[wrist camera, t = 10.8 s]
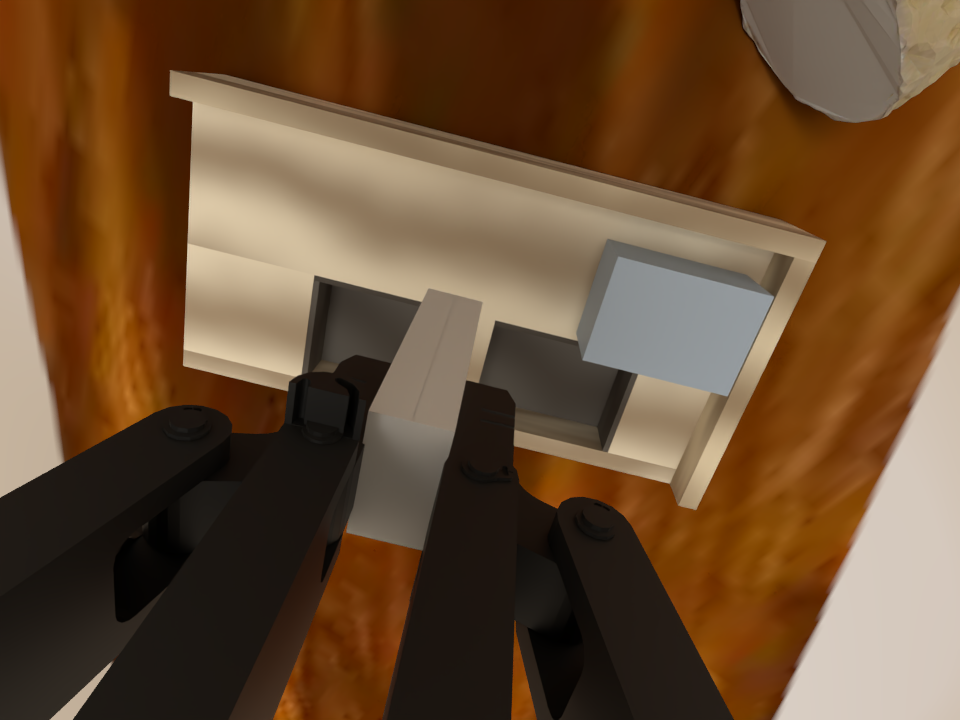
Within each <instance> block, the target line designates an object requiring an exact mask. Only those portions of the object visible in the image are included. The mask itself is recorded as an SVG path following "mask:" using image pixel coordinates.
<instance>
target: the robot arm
mask: <svg viewBox="0 0 960 720" xmlns="http://www.w3.org/2000/svg"><path fill="white" fill-rule="evenodd" d="M482 304H483V302H481V301H477V300H473V299H469V298H465V297H461V296H457V295H453V294H449V293H445V292H441V291H438V290H434V289H430V288H428V290H427V292H426V295H425V297H424V299H423V301H422V303H421V305H420V307H419V309H418V311H417V313H416V315H415V317H414V319H413V321H412V323H411V325H410V327H409V329H408V331H407V333H406V335H405V337H404V339H403V341H402V343H401V345H400V348H399V350H398V352H397V354H396V356H395V358H394V360H393V362H392V363H389V362H385V361H381V360H377V359H373V358H369V357H365V356H360V355H354V356H352V357H350V358H348V359H346V360H344V361H341V362H340V363H339V365H338V366H337V368H336V369H335V371H334V372H333V373H331V372H309V373H305V374H302V375H298V376H296V377H295V378H293V379H292V380H291V381H289V386H288V395H287V404H286V413H285V422H284V424H283V426H282V427H281V428H280V430H279V431H278V432H274V433H268V434H243V433H232V423H231V422H230V420H229V419H228V417H227V416H226V415H224V414H223V413H221V412H219V411H218V410H216V409H212V408H208V407H204V406H197V405H182V406H175V407H168V408H166V409H163V410H161V411H158V412H155V413H153V414H151V415H150V416H148V417H146V418H144V419H142V420H140V421H139V422H137V423H135V424H133V425H131V426H130V427H128V428H126V429H124V430H122V431H120V432H119V433H117V434H115V435H113V436H111V437H110V438H108V439H106V440H104V441H102V442H100V443H99V444H97V445H95V446H93V447H91V448H90V449H88V450H86V451H84V452H82V453H80V454H79V455H77V456H75V457H73V458H71V459H70V460H68V461H66V462H64V463H62V464H61V465H59V466H57V467H55V468H53V469H51V470H50V471H48V472H46V473H44V474H42V475H41V476H39V477H37V478H35V479H33V480H31V481H30V482H28V483H26V484H24V485H22V486H21V487H19V488H17V489H15V490H13V491H11V492H10V493H8V494H6V495H4V496H2V497H1V498H0V720H50V719H51V718H52V717H53V716H54V715H55V714H56V713H57V712H58V711H59V710H60V709H61V708H62V707H63V706H65V705H66V704H67V703H68V702H69V701H70V700H71V699H72V698H73V697H74V696H75V695H76V694H77V693H78V692H79V691H80V690H81V689H83V688H84V687H85V686H86V685H87V684H88V683H89V682H90V681H91V680H92V679H93V678H94V677H95V676H96V675H97V674H98V673H100V672H101V671H102V670H103V669H104V668H105V667H106V666H107V665H108V664H109V663H110V662H111V661H112V660H113V659H114V658H115V657H117V656H118V655H119V656H118V657H117V658H116V660H115V661H114V663H113V664H112V665H111V667H110V668H109V670H108V671H107V673H106V674H105V675H104V677H103V678H102V680H101V681H100V682H99V684H98V685H97V687H96V688H95V689H94V691H93V692H92V694H91V695H90V696H89V698H88V699H87V701H86V702H85V703H84V705H83V706H82V708H81V709H80V710H79V712H78V713H77V715H76V716H75V717H74V719H73V720H273V717H274V715H275V712H276V710H277V707H278V705H279V702H280V700H281V697H282V695H283V692H284V690H285V687H286V685H287V682H288V680H289V677H290V675H291V672H292V670H293V667H294V665H295V662H296V660H297V657H298V655H299V652H300V650H301V647H302V645H303V642H304V640H305V637H306V635H307V632H308V630H309V627H310V625H311V622H312V620H313V617H314V615H315V612H316V610H317V607H318V605H319V602H320V600H321V597H322V595H323V592H324V590H325V587H326V585H327V582H328V580H329V577H330V575H331V572H332V570H333V567H334V565H335V562H336V560H337V557H338V555H339V551H340V546H341V540H342V535H343V531H344V528H345V526H346V524H347V521H348V519H349V521H348V526H347V533H351V534H355V535H359V536H364V537H368V538H372V539H376V540H380V541H385V542H389V543H393V544H397V545H401V546H405V547H410V548H414V549H418V550H422V554H421V558H420V562H419V566H418V570H417V574H416V577H415V581H414V585H413V589H412V593H411V597H410V604H409V608H408V612H407V616H406V621H405V625H404V629H403V633H402V638H401V642H400V646H399V650H398V655H397V659H396V663H395V668H394V672H393V676H392V680H391V685H390V689H389V693H388V697H387V702H386V706H385V710H384V714H383V719H382V720H511V707H512V677H513V647H514V620H515V621H516V633H517V637H518V642H519V646H520V650H521V654H522V658H523V662H524V667H525V671H526V675H527V679H528V683H529V688H530V692H531V696H532V700H533V704H534V708H535V713H536V717H537V720H734V719H733V717H732V715H731V713H730V712H729V710H728V708H727V706H726V704H725V702H724V700H723V698H722V696H721V695H720V693H719V691H718V689H717V687H716V685H715V683H714V681H713V679H712V678H711V676H710V674H709V672H708V670H707V668H706V666H705V664H704V662H703V660H702V659H701V657H700V655H699V653H698V651H697V649H696V647H695V645H694V643H693V642H692V640H691V638H690V636H689V634H688V632H687V630H686V628H685V626H684V625H683V623H682V621H681V619H680V617H679V615H678V613H677V611H676V609H675V607H674V606H673V604H672V602H671V600H670V598H669V596H668V594H667V592H666V590H665V589H664V587H663V585H662V583H661V581H660V579H659V577H658V575H657V573H656V572H655V570H654V568H653V566H652V564H651V562H650V560H649V558H648V556H647V554H646V553H645V551H644V549H643V547H642V545H641V543H640V541H639V539H638V537H637V536H636V534H635V532H634V530H633V528H632V526H631V525H630V524H629V522H628V521H627V520H626V518H625V517H624V516H623V515H622V514H621V513H619V512H618V511H617V510H615V509H614V508H613V507H611V506H609V505H607V504H605V503H603V502H601V501H599V500H595V499H591V498H586V497H574V498H569V499H567V500H565V501H563V502H561V504H560V506H559V508H558V509H557V508H555V507H552V506H550V505H548V504H546V503H544V502H542V501H540V500H539V499H537V498H535V497H533V496H532V495H531V494H529V493H528V492H527V491H526V490H524V489H523V488H522V486H521V485H520V484H519V478H518V474H517V470H516V469H515V468H514V467H513V452H514V430H515V429H514V427H515V408H516V403H515V402H514V400H513V399H512V397H511V395H510V394H509V392H508V391H507V390H504V389H500V388H496V387H492V386H488V385H484V384H480V383H476V382H472V381H468V380H466V378H467V374H468V369H469V364H470V360H471V355H472V350H473V346H474V341H475V336H476V332H477V327H478V322H479V318H480V313H481V308H482Z"/></svg>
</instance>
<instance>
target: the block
mask: <svg viewBox="0 0 960 720" xmlns="http://www.w3.org/2000/svg"><path fill="white" fill-rule="evenodd" d="M773 299H774V296H773V295H771V294H770V293H769V292H768V291H766V290H765V289H764V288H763V287H761V286H760V285H759V284H758V283H756V282H755V281H754V280H752V279H751V278H750V277H749V276H747V275H746V274H742V273H738V272H734V271H730V270H726V269H722V268H718V267H715V266H711V265H707V264H703V263H699V262H695V261H691V260H688V259H684V258H680V257H676V256H672V255H668V254H664V253H661V252H657V251H653V250H649V249H645V248H641V247H637V246H633V245H630V244H626V243H622V242H618V241H614V240H610V239H607V242H606V245H605V248H604V251H603V254H602V257H601V260H600V263H599V266H598V269H597V272H596V275H595V278H594V281H593V284H592V287H591V290H590V293H589V296H588V299H587V302H586V305H585V308H584V311H583V314H582V317H581V320H580V323H579V326H578V329H577V332H576V335H577V339H578V343H579V348H580V352H581V356H582V360H584V361H588V362H592V363H596V364H600V365H604V366H608V367H612V368H616V369H620V370H624V371H628V372H632V373H636V374H640V375H644V376H648V377H652V378H656V379H660V380H664V381H668V382H672V383H676V384H680V385H684V386H688V387H692V388H696V389H700V390H704V391H708V392H712V393H716V394H720V395H724V396H728V394H729V392H730V390H731V388H732V386H733V384H734V382H735V379H736V377H737V375H738V373H739V371H740V369H741V367H742V365H743V362H744V360H745V358H746V356H747V354H748V352H749V350H750V348H751V345H752V343H753V341H754V339H755V337H756V335H757V333H758V331H759V328H760V326H761V324H762V322H763V320H764V318H765V316H766V314H767V311H768V309H769V307H770V305H771V303H772V301H773Z"/></svg>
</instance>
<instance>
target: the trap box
mask: <svg viewBox="0 0 960 720" xmlns="http://www.w3.org/2000/svg"><path fill="white" fill-rule="evenodd" d="M170 96H173V97H177V98H181V99H184V100H188V101H192V102H193V116H192V143H191V170H190V197H189V224H188V251H187V278H186V305H185V332H184V359H183V366H187V367H191V368H195V369H199V370H203V371H207V372H211V373H215V374H220V375H224V376H228V377H232V378H236V379H240V380H244V381H248V382H253V383H257V384H261V385H265V386H269V387H273V388H277V389H281V390H286V391H288V386H289V381H291V380H292V379H293V378H295V377H296V376H298V375H302V374H305V373H309V372H331V373H333V372H334V371H335V369H336V368H337V366H338V365H339V363H340V362H341V361H344V360H346V359H348V358H350V357H352V356H354V355H360V356H365V357H369V358H373V359H377V360H381V361H385V362H389V363H392V362H393V360H394V358H395V356H396V354H397V352H398V350H399V348H400V345H401V343H402V341H403V339H404V337H405V335H406V333H407V331H408V329H409V327H410V325H411V323H412V321H413V319H414V317H415V315H416V313H417V311H418V309H419V307H420V305H421V303H422V301H423V299H424V297H425V295H426V292H427V290H428V288H430V289H434V290H438V291H441V292H445V293H449V294H453V295H457V296H461V297H465V298H469V299H473V300H477V301H481V302H483V304H482V308H481V313H480V318H479V322H478V327H477V332H476V336H475V341H474V346H473V350H472V355H471V360H470V364H469V369H468V374H467V378H466V380H468V381H472V382H476V383H480V384H484V385H488V386H492V387H496V388H500V389H504V390H507V391H508V392H509V394H510V395H511V397H512V399H513V400H514V402H515V403H516V408H515V427H514V429H515V430H514V446H517V447H521V448H525V449H529V450H533V451H538V452H542V453H546V454H550V455H554V456H558V457H562V458H566V459H571V460H575V461H579V462H583V463H587V464H591V465H595V466H599V467H604V468H608V469H612V470H616V471H620V472H624V473H628V474H632V475H637V476H641V477H645V478H649V479H653V480H657V481H661V482H666V483H670V485H671V488H672V491H673V493H674V496H675V498H676V501H677V504H678V506H682V507H687V508H691V509H695V510H696V509H697V507H698V505H699V503H700V501H701V498H702V496H703V494H704V492H705V490H706V488H707V486H708V484H709V482H710V480H711V478H712V476H713V474H714V472H715V470H716V468H717V466H718V464H719V461H720V459H721V457H722V455H723V453H724V451H725V449H726V447H727V445H728V443H729V441H730V439H731V437H732V435H733V433H734V431H735V429H736V427H737V424H738V422H739V420H740V418H741V416H742V414H743V412H744V410H745V408H746V406H747V404H748V402H749V400H750V398H751V396H752V394H753V392H754V389H755V387H756V385H757V383H758V381H759V379H760V377H761V375H762V373H763V371H764V369H765V367H766V365H767V363H768V361H769V359H770V357H771V355H772V352H773V350H774V348H775V346H776V344H777V342H778V340H779V338H780V336H781V334H782V332H783V330H784V328H785V326H786V324H787V322H788V320H789V318H790V315H791V313H792V311H793V309H794V307H795V305H796V303H797V301H798V299H799V297H800V295H801V293H802V291H803V289H804V287H805V285H806V283H807V281H808V278H809V276H810V274H811V272H812V270H813V268H814V266H815V264H816V262H817V260H818V258H819V256H820V254H821V252H822V250H823V248H824V246H825V243H826V241H825V240H823V239H821V238H818V237H816V236H814V235H812V234H810V233H808V232H806V231H804V230H802V229H799V228H797V227H795V226H793V225H791V224H789V223H787V222H785V221H782V220H780V219H776V218H772V217H768V216H764V215H760V214H757V213H753V212H749V211H745V210H741V209H738V208H734V207H730V206H726V205H722V204H718V203H715V202H711V201H707V200H703V199H699V198H695V197H692V196H688V195H684V194H680V193H676V192H672V191H669V190H665V189H661V188H657V187H653V186H649V185H646V184H642V183H638V182H634V181H630V180H626V179H623V178H619V177H615V176H611V175H607V174H603V173H600V172H596V171H592V170H588V169H584V168H581V167H577V166H573V165H569V164H565V163H561V162H558V161H554V160H550V159H546V158H542V157H538V156H535V155H531V154H527V153H523V152H519V151H515V150H512V149H508V148H504V147H500V146H496V145H492V144H489V143H485V142H481V141H477V140H473V139H469V138H466V137H462V136H458V135H454V134H450V133H446V132H443V131H439V130H435V129H431V128H427V127H423V126H420V125H416V124H412V123H408V122H404V121H401V120H397V119H393V118H389V117H385V116H381V115H378V114H374V113H370V112H366V111H362V110H358V109H355V108H351V107H347V106H343V105H339V104H335V103H332V102H328V101H324V100H320V99H316V98H312V97H309V96H305V95H301V94H297V93H293V92H289V91H286V90H282V89H278V88H274V87H270V86H266V85H263V84H259V83H255V82H251V81H247V80H244V79H240V78H236V77H232V76H228V75H224V74H211V73H198V72H186V71H173V70H170ZM607 239H610V240H614V241H618V242H622V243H626V244H630V245H633V246H637V247H641V248H645V249H649V250H653V251H657V252H661V253H664V254H668V255H672V256H676V257H680V258H684V259H688V260H691V261H695V262H699V263H703V264H707V265H711V266H715V267H718V268H722V269H726V270H730V271H734V272H738V273H742V274H746V275H747V276H749V277H750V278H751V279H752V280H754V281H755V282H756V283H758V284H759V285H760V286H761V287H763V288H764V289H765V290H766V291H768V292H769V293H770V294H771V295H773V296H774V299H773V301H772V303H771V305H770V307H769V309H768V311H767V314H766V316H765V318H764V320H763V322H762V324H761V326H760V328H759V331H758V333H757V335H756V337H755V339H754V341H753V343H752V345H751V348H750V350H749V352H748V354H747V356H746V358H745V360H744V362H743V365H742V367H741V369H740V371H739V373H738V375H737V377H736V379H735V382H734V384H733V386H732V388H731V390H730V392H729V394H728V396H724V395H720V394H716V393H712V392H708V391H704V390H700V389H696V388H692V387H688V386H684V385H680V384H676V383H672V382H668V381H664V380H660V379H656V378H652V377H648V376H644V375H640V374H636V373H632V372H628V371H624V370H620V369H616V368H612V367H608V366H604V365H600V364H596V363H592V362H588V361H584V360H582V356H581V352H580V348H579V343H578V339H577V335H576V332H577V329H578V326H579V323H580V320H581V317H582V314H583V311H584V308H585V305H586V302H587V299H588V296H589V293H590V290H591V287H592V284H593V281H594V278H595V275H596V272H597V269H598V266H599V263H600V260H601V257H602V254H603V251H604V248H605V245H606V242H607Z"/></svg>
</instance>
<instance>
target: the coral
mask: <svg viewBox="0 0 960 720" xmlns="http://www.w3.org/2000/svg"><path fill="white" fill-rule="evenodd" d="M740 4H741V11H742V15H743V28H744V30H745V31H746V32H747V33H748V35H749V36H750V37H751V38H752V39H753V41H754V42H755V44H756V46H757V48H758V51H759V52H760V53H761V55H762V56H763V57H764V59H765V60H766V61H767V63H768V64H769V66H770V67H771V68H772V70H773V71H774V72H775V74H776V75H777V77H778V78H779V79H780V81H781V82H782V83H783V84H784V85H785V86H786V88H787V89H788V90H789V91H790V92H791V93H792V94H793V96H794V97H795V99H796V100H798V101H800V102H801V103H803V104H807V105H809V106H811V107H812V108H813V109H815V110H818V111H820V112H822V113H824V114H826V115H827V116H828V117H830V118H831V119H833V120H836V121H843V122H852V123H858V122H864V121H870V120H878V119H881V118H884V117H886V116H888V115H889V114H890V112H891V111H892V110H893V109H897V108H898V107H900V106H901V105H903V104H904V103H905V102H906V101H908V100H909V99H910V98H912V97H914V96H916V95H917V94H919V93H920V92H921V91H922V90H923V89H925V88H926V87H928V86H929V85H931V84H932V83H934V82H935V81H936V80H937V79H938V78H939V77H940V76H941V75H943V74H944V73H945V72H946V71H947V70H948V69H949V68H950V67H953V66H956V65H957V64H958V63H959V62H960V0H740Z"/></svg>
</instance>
